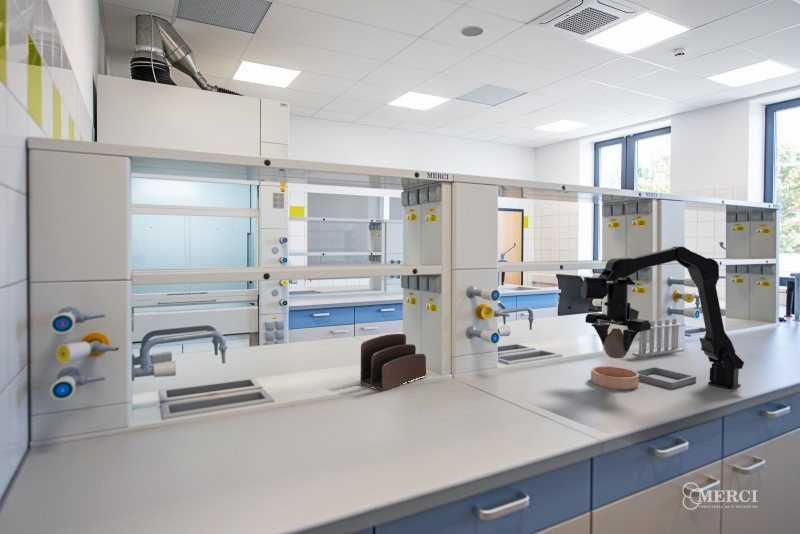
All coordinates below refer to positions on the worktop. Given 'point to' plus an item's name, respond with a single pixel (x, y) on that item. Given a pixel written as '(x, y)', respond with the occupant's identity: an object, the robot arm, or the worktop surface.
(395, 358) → the letter holder
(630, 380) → the bowl
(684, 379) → the parts tray
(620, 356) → the vase
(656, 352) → the test tube rack
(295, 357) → the worktop surface
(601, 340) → the robot arm
